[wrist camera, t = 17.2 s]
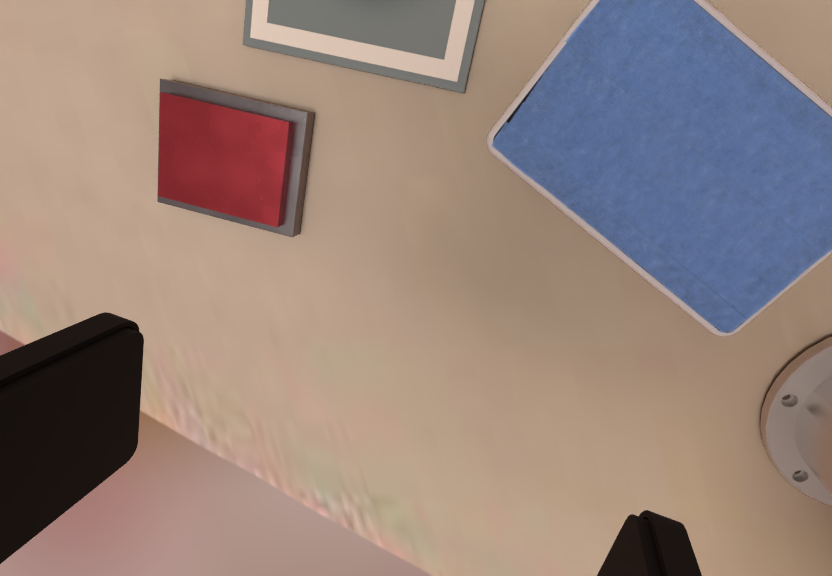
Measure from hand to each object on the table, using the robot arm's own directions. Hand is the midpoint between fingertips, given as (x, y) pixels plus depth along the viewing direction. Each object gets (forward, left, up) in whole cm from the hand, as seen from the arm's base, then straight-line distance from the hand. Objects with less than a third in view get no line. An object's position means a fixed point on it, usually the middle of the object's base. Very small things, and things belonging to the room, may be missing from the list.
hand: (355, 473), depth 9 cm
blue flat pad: (-10, -6, -26) cm, 28 cm away
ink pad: (+16, 0, -25) cm, 30 cm away
